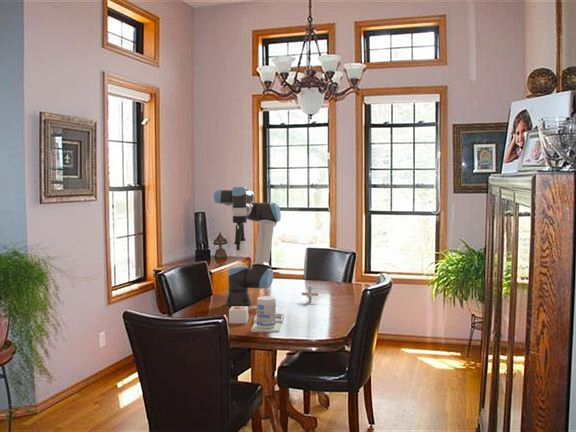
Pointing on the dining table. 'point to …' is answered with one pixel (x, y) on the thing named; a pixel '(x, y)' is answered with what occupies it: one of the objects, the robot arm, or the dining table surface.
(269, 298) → the supplement tub
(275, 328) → the mat
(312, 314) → the dining table surface
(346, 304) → the dining table surface
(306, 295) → the pipe connector
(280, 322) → the frame
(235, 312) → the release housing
